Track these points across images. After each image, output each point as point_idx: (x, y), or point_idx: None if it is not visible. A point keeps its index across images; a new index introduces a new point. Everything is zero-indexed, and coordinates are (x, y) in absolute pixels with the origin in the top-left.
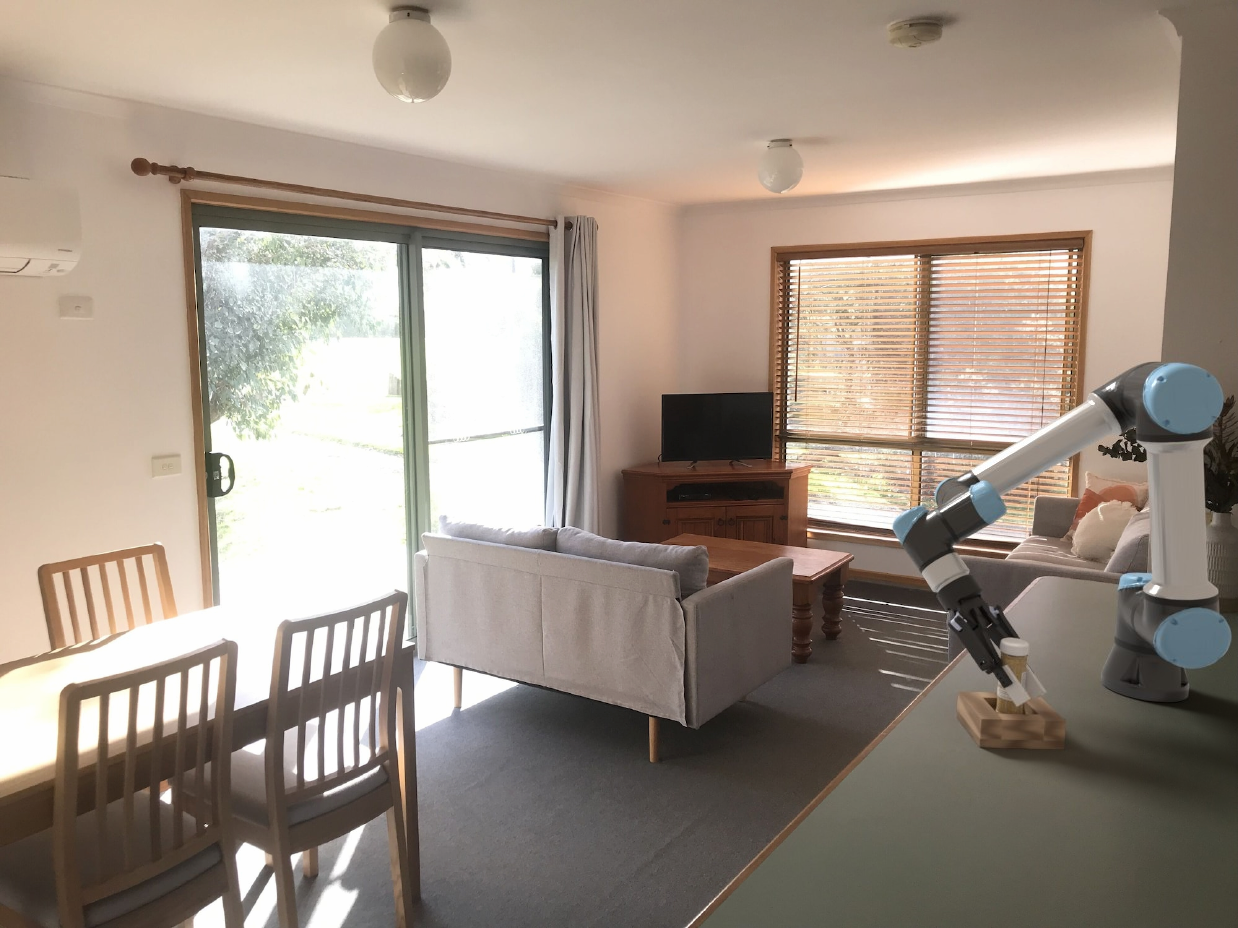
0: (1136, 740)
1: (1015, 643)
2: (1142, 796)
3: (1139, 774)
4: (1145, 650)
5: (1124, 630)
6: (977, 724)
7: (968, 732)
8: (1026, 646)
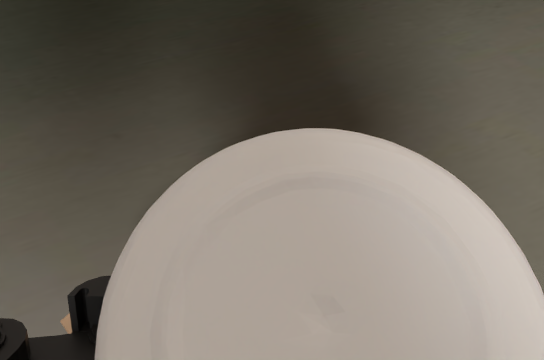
0: (93, 87)
1: (419, 262)
2: (385, 5)
3: (286, 34)
4: None
5: None
6: None
7: None
8: (349, 132)
